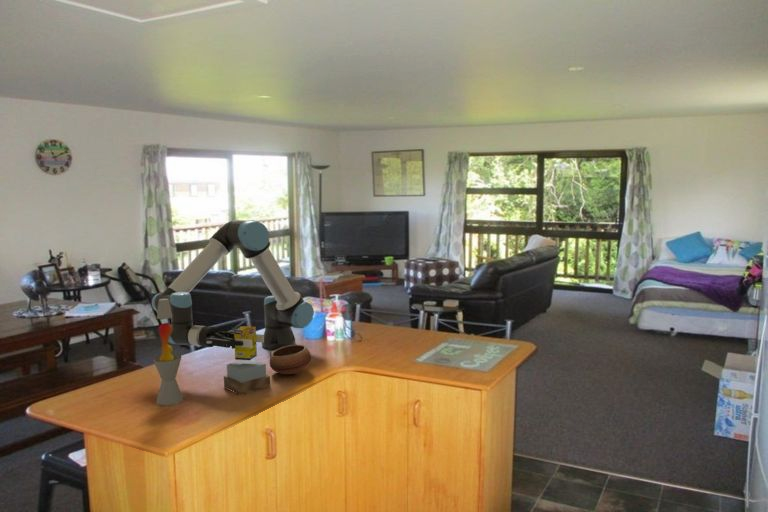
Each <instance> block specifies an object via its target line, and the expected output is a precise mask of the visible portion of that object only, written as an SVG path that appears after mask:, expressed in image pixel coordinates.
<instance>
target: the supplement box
mask: <svg viewBox="0 0 768 512" xmlns="http://www.w3.org/2000/svg"><path fill="white" fill-rule="evenodd" d="M256 328H257V326H243V325H242V326H241V325H240V326H239V327H237V328H236V329H234V330H233V331H234V339H236V338H239V339H250V340H252V344H253V347H252V348H248V347H238V346H236V345H235V348H234V359H235V360H239V361H243V360H251V359H254V358H255V357H257V356H258V353H257V351H258V350H257V342H256V334H257V329H256Z"/></svg>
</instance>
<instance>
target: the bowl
mask: <svg viewBox="0 0 768 512" xmlns="http://www.w3.org/2000/svg"><path fill="white" fill-rule="evenodd" d="M311 359H312V356H311V352H310V350H309V349H308V347H307V346H306V345H304V344H303V345H302V344H295V345H289V346H285V347H281V348H279V349H274V350H272V351H270V352H269V367H270V368H271V369H272V371H273V372H275V373H278V374H280V375H286V376H287V375H295V374H298V373H300V372H302V371H303V370H305V369H307V367H308V366H309V365H310V363H311V361H312V360H311Z"/></svg>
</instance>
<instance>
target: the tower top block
mask: <svg viewBox="0 0 768 512" xmlns="http://www.w3.org/2000/svg"><path fill="white" fill-rule="evenodd" d="M226 371H227V372H226V375H227V376H228V377H230V378H232V379H234V380H236V381H238V382H241V383H242V382H246V381H250V380H254V379H258V378H261V377H265V376H266V375H267V364H266V363H264V362H262V361H259V360H256V359H254V358H252V359H251V360H239V361H235V362H231V363H227V364H226Z"/></svg>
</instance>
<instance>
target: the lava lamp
mask: <svg viewBox="0 0 768 512" xmlns="http://www.w3.org/2000/svg"><path fill="white" fill-rule="evenodd" d="M156 314H157V315H156V319H158V320H166V319H171V318H172V317H173V316H172V312H171V308H170V304H169V300H168V299H160V300H159V303H158V311H157V313H156ZM170 324H171V323H170ZM170 324H169V323H162V324H161V325H160V326H159V327H158V334H159V337H160V339H161V347H162V348H161V355H158V356H157V355H156V357H154V358H152V360H153V363H154V365H155V368H156V370H157V372H158V374H159V377H160V379H161V383H160V386H159V390H158V395H157V398H156V404H157V405H160V406H171V405H176V404H179V403H182V402H183V401H184V397H183V394H182V392H181V389H180V386H179V385H178V381H177V379H176V377H177V376H178V375H177V374H178V371H179V367H180V364H181V360H182V355H181V354H179V353H178V354H177V353H173V352H174V351H173V350H174V349H173V346H172V345H170V344H169V342H168V340H169V337H170V335H171V333H172V326H171V325H170Z"/></svg>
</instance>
